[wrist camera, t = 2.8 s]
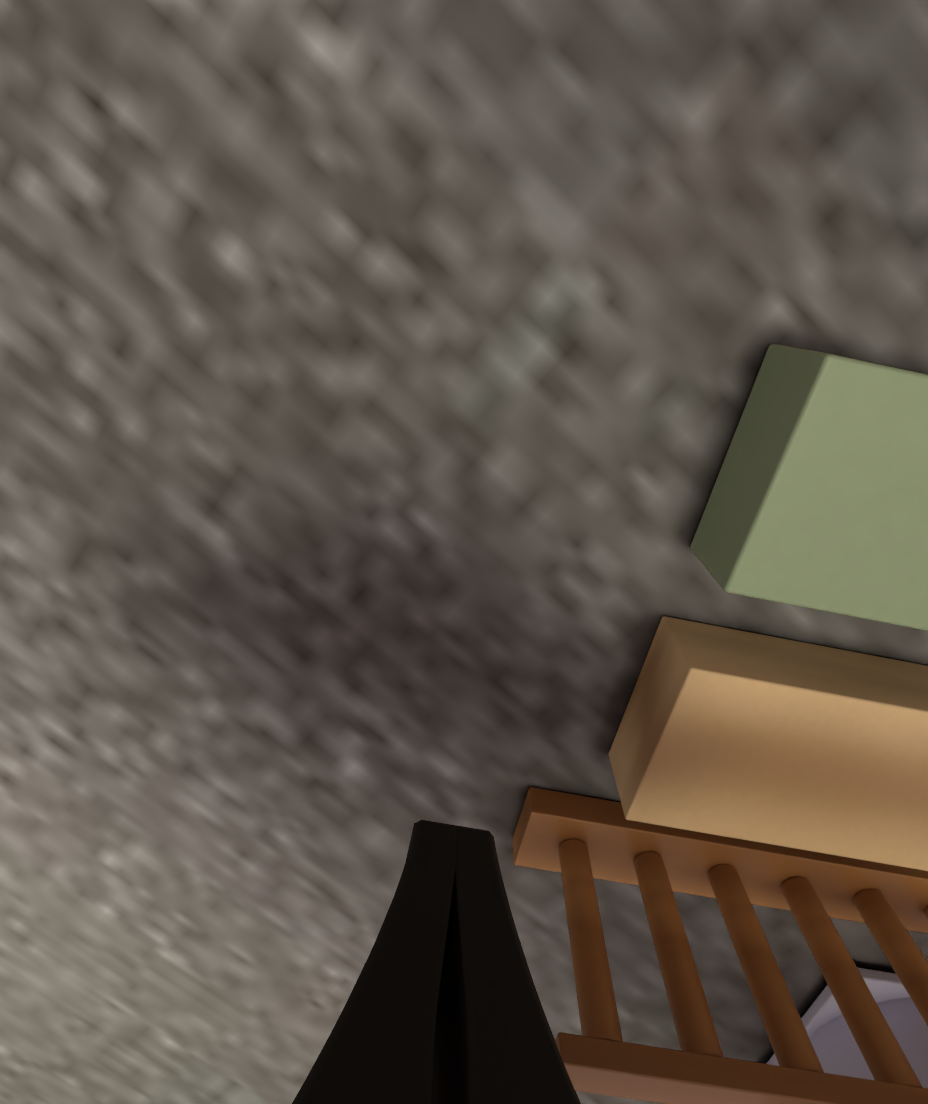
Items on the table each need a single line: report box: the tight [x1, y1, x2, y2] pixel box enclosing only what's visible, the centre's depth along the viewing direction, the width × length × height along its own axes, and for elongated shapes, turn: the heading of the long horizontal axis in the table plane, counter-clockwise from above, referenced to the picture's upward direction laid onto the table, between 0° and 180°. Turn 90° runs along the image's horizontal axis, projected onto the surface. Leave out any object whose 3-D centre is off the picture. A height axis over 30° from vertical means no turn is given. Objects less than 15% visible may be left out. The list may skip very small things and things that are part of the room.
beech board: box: [609, 616, 928, 871], centre depth 16 cm, size 5×14×2 cm, turn 79°
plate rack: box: [513, 787, 928, 1104], centre depth 16 cm, size 2×20×7 cm, turn 79°
